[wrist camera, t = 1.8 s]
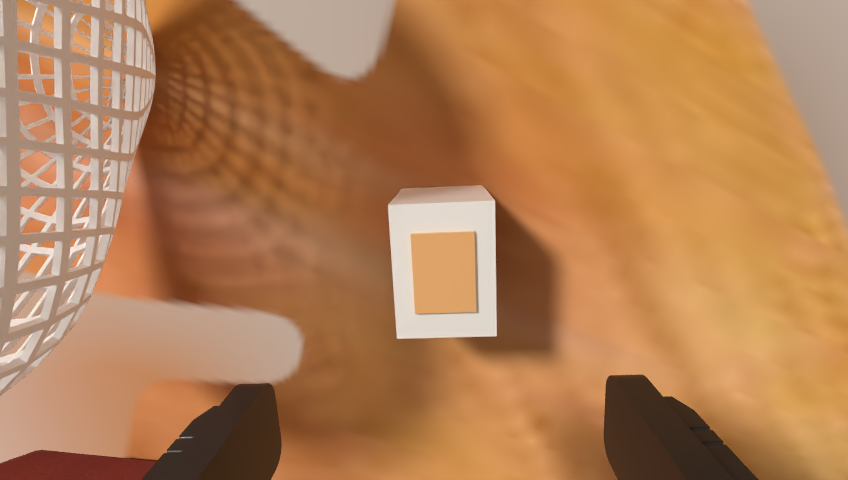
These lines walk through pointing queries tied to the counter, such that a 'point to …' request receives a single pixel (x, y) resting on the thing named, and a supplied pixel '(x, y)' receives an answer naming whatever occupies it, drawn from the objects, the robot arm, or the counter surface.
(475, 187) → the block
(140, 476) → the plant pot
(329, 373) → the counter surface
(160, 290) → the counter surface
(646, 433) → the robot arm
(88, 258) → the heart
